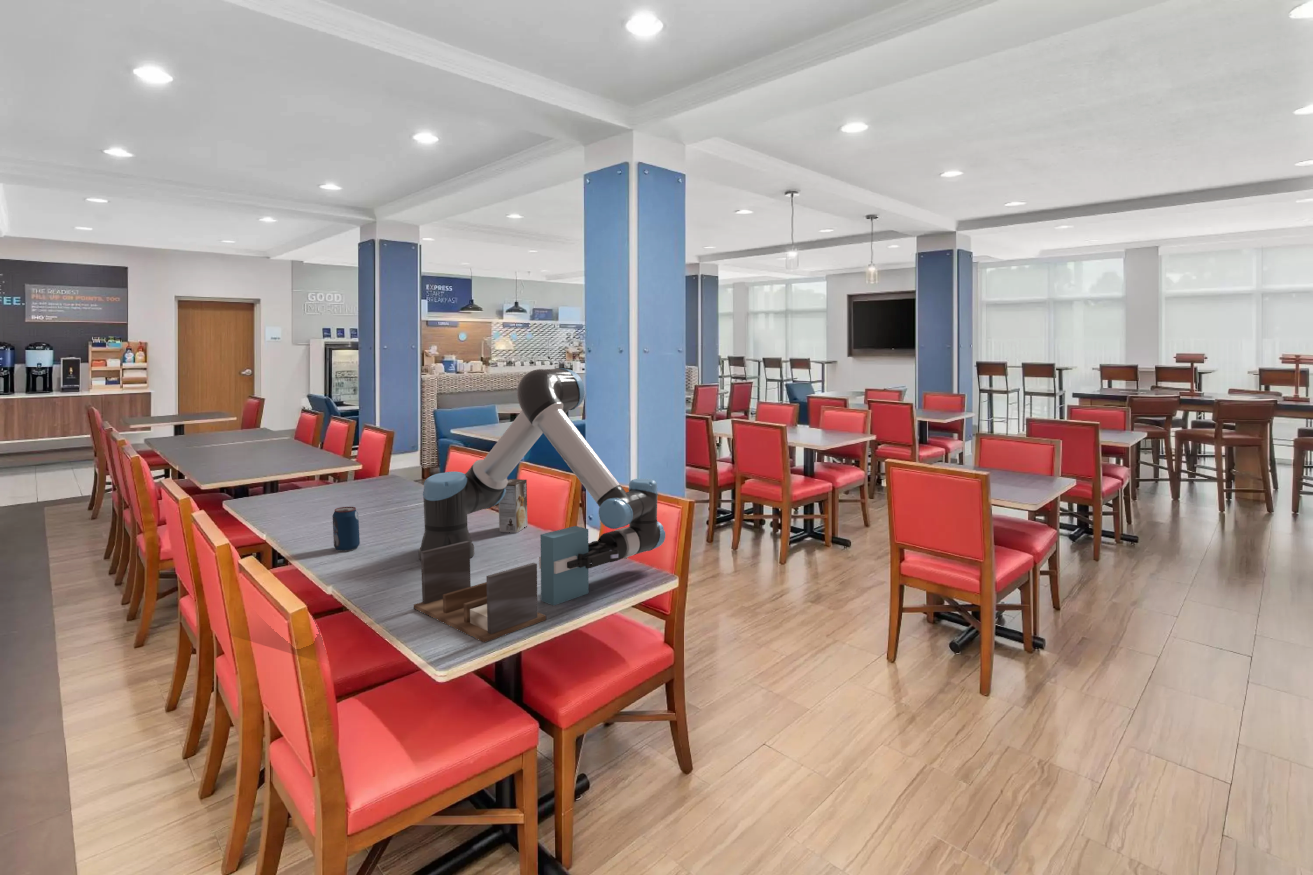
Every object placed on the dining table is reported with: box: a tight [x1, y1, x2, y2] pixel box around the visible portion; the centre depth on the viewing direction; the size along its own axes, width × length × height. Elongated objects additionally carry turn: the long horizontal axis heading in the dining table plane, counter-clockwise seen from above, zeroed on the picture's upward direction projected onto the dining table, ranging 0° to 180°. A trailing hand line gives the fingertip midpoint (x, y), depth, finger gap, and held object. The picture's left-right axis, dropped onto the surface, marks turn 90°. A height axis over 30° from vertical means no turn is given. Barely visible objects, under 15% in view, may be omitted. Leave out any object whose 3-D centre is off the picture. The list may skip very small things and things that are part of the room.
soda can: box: [332, 506, 361, 552], centre depth 200 cm, size 7×7×12 cm
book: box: [539, 525, 589, 606], centre depth 162 cm, size 4×11×16 cm, turn 139°
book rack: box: [413, 541, 547, 643], centre depth 151 cm, size 27×16×13 cm, turn 49°
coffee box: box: [498, 478, 529, 534], centre depth 224 cm, size 9×6×16 cm
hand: (547, 565), depth 158 cm, fingers closed on book, 4 cm apart
